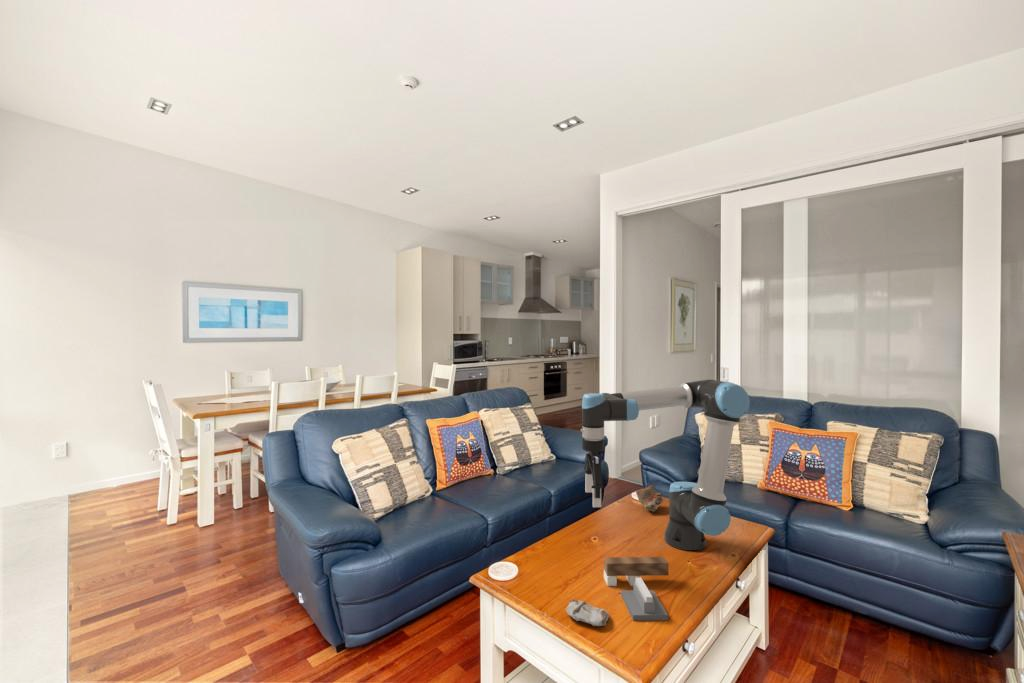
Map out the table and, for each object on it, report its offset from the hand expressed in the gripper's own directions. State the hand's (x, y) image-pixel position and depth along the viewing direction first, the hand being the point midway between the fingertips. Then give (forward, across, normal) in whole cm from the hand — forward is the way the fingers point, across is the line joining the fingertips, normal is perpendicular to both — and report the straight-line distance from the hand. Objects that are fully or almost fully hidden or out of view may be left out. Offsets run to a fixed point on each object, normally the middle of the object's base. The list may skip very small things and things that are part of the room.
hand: (592, 499), depth 152 cm
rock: (+24, -49, +36) cm, 66 cm away
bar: (+21, +9, +12) cm, 26 cm away
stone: (+24, +28, -7) cm, 37 cm away
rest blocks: (+24, +9, +8) cm, 27 cm away
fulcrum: (+24, +23, +11) cm, 34 cm away
